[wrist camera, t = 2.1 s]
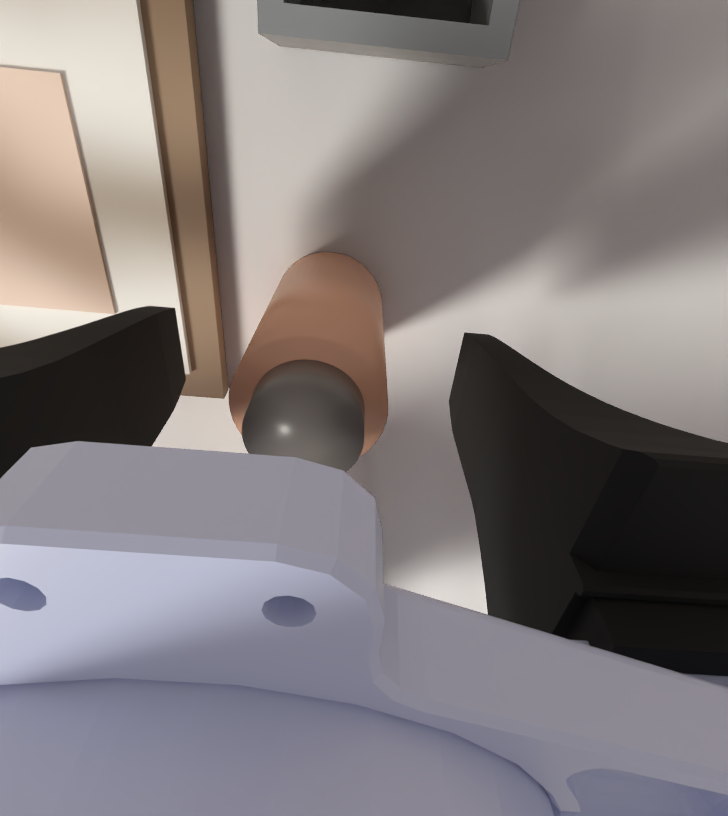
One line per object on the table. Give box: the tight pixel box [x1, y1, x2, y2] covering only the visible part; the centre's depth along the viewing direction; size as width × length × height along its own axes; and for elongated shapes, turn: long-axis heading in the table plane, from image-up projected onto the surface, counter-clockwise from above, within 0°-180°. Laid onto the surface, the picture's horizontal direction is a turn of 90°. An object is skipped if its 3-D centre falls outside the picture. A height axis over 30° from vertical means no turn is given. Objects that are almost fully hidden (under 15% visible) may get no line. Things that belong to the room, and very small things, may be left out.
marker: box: [229, 252, 388, 472], centre depth 12 cm, size 3×3×7 cm
